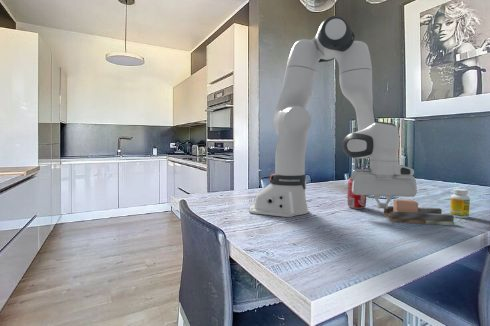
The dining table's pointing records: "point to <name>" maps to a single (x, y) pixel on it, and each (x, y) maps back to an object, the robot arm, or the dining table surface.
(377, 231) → the dining table surface
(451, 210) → the supplement bottle
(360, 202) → the soda can
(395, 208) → the block
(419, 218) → the brown wooden slats
